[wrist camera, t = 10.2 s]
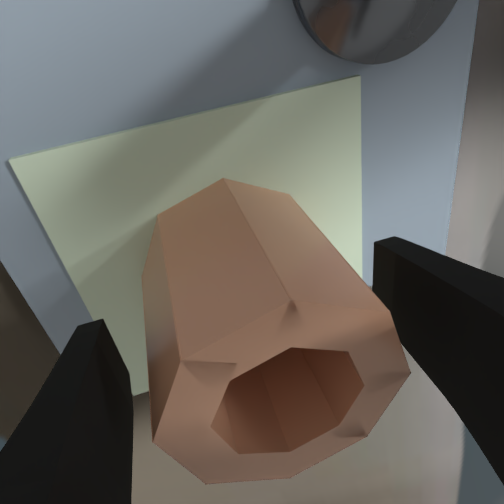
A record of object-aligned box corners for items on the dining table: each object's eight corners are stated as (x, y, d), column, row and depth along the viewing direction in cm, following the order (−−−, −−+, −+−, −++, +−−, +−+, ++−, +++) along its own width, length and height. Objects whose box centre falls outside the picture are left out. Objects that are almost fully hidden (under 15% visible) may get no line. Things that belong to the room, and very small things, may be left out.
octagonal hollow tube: (330, 203, 12) (448, 319, 8) (273, 328, 15) (340, 474, 10) (170, 164, 10) (205, 288, 6) (131, 314, 13) (136, 489, 8)
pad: (10, 157, 10) (7, 160, 9) (357, 74, 11) (360, 75, 11) (133, 391, 15) (133, 395, 14) (360, 317, 16) (362, 320, 16)
